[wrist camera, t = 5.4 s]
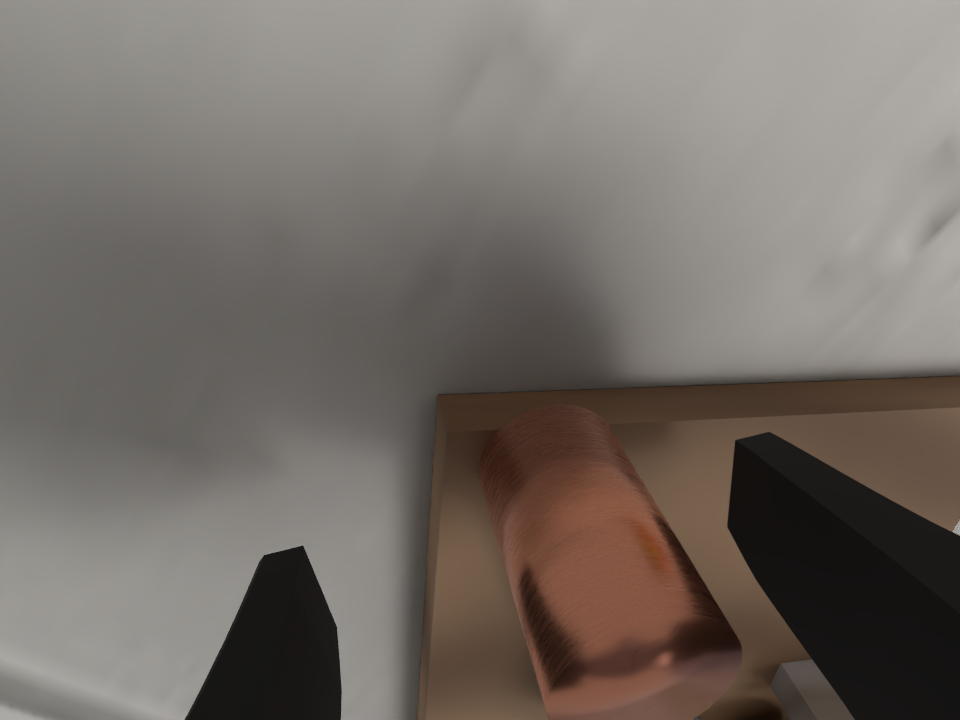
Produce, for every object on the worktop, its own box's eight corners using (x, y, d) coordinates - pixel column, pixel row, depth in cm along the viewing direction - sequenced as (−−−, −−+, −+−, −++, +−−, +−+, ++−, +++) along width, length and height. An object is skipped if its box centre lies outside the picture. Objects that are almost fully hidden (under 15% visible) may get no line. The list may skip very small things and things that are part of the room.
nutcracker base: (782, 739, 23) (847, 849, 20) (412, 800, 20) (425, 938, 17) (983, 375, 15) (1133, 468, 12) (437, 395, 13) (468, 519, 10)
